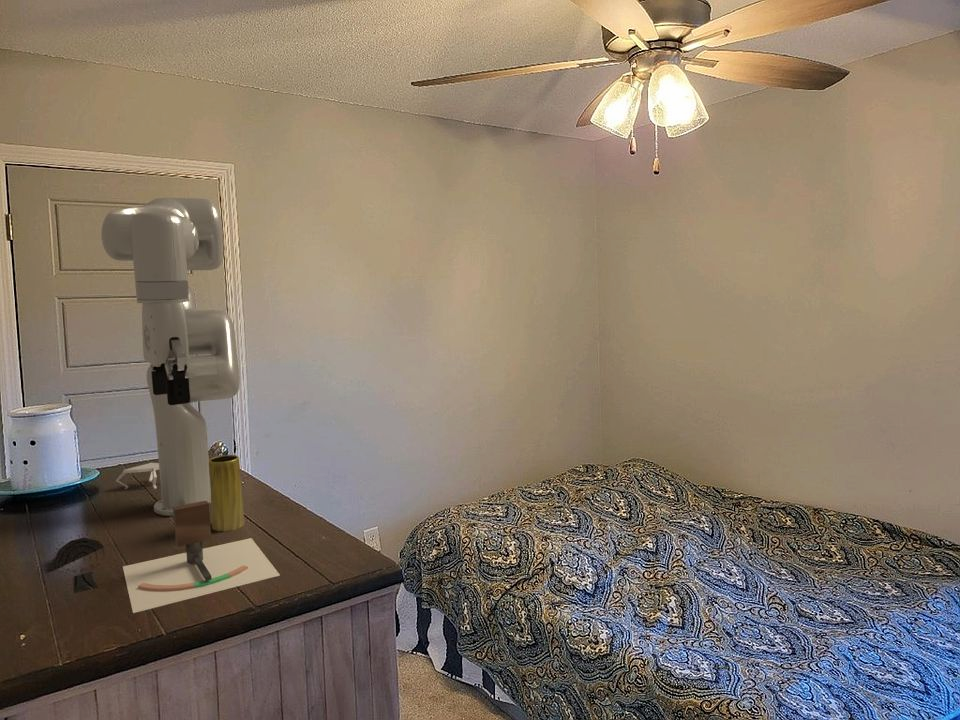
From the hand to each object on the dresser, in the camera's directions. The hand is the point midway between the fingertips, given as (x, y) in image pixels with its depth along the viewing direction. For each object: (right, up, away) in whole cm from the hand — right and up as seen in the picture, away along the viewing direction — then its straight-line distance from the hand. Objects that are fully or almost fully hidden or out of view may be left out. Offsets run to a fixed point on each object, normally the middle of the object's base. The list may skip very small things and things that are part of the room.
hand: (171, 398), depth 106 cm
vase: (+3, -26, +16) cm, 31 cm away
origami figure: (-28, -23, +46) cm, 58 cm away
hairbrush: (-13, -29, -3) cm, 32 cm away
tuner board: (+6, -28, -4) cm, 29 cm away
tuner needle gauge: (+7, -26, -4) cm, 28 cm away
